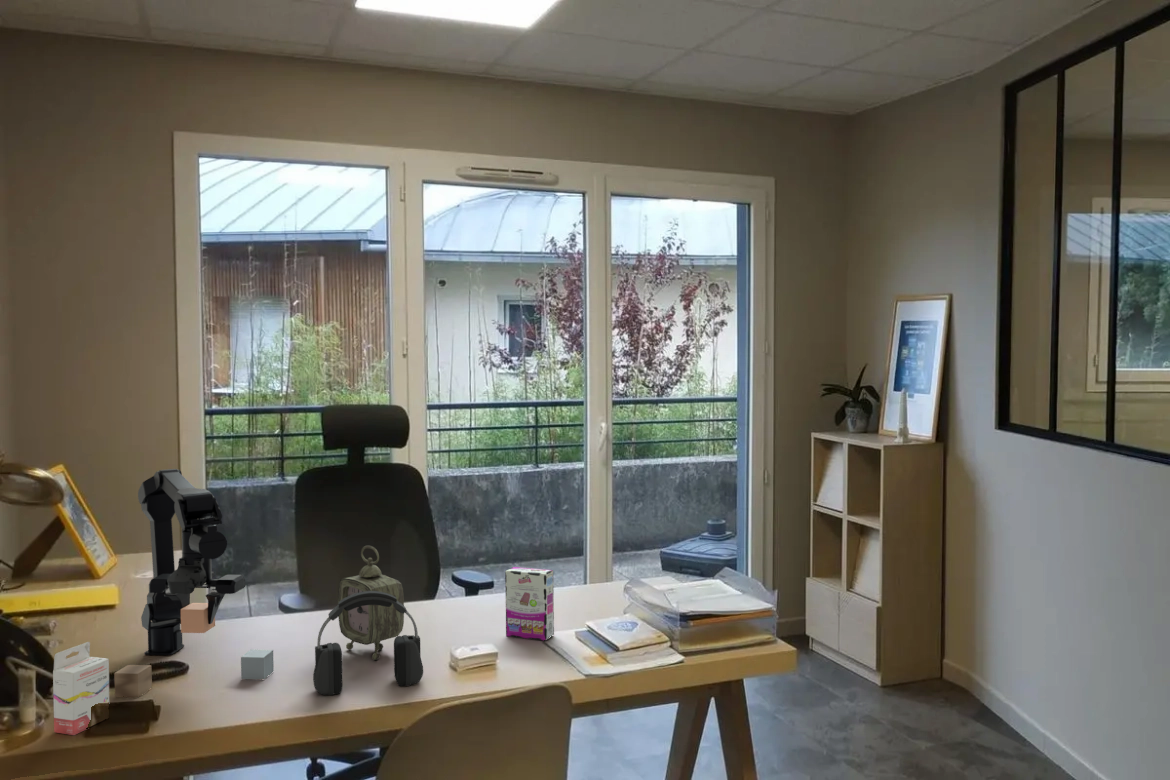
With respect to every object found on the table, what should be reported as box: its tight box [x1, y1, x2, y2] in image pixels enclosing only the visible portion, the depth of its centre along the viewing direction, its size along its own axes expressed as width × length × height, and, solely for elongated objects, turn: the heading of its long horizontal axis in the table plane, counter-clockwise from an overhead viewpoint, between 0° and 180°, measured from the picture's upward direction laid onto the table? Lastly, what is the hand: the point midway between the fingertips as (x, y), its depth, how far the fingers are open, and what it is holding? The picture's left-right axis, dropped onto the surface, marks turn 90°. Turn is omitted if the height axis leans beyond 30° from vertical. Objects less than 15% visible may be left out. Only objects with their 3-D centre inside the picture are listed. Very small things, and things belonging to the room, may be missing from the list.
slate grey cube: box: [240, 648, 275, 680], centre depth 198 cm, size 5×5×5 cm
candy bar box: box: [504, 566, 555, 642], centre depth 224 cm, size 11×5×16 cm, turn 68°
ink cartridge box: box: [52, 641, 110, 736], centre depth 172 cm, size 9×5×15 cm, turn 163°
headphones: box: [312, 591, 424, 696], centre depth 191 cm, size 22×6×20 cm, turn 109°
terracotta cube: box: [180, 602, 216, 634], centre depth 195 cm, size 5×5×5 cm
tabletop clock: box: [337, 545, 405, 661], centre depth 212 cm, size 14×9×25 cm, turn 47°
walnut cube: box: [113, 664, 153, 698], centre depth 188 cm, size 5×5×5 cm
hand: (198, 623), depth 196 cm, fingers closed on terracotta cube, 5 cm apart
